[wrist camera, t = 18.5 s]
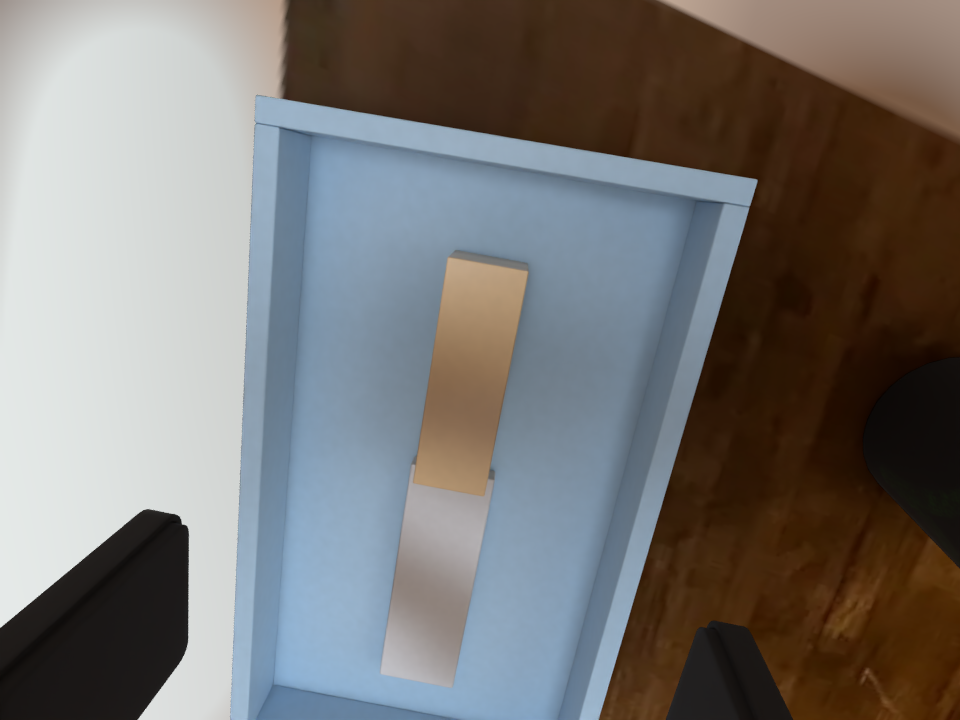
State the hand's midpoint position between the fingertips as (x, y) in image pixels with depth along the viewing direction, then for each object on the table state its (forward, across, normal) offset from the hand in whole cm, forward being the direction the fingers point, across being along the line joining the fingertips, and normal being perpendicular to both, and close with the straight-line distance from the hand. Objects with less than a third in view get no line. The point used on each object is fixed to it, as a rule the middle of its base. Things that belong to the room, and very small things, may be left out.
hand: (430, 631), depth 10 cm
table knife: (+10, +1, +3) cm, 11 cm away
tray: (+11, +1, +3) cm, 11 cm away
